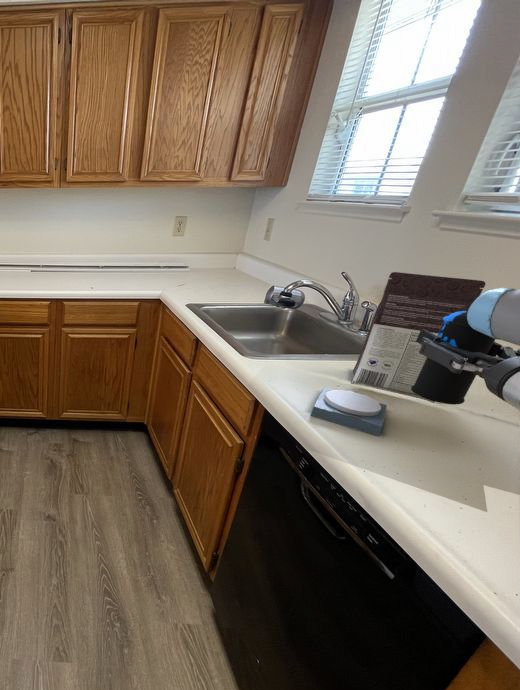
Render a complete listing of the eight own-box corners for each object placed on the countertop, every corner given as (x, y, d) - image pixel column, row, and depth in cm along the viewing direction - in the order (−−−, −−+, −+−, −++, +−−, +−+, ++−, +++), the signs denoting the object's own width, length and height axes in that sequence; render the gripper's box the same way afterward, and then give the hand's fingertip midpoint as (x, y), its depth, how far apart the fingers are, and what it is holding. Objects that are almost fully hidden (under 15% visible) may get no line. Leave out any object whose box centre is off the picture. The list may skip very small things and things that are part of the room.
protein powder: (430, 389, 104) (485, 277, 92) (435, 403, 98) (495, 285, 86) (349, 372, 113) (390, 268, 101) (349, 384, 106) (392, 274, 94)
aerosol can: (459, 392, 87) (507, 299, 78) (468, 409, 81) (522, 309, 72) (408, 382, 91) (449, 292, 82) (413, 397, 85) (458, 302, 76)
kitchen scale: (383, 414, 93) (389, 401, 92) (378, 436, 85) (384, 422, 84) (320, 396, 101) (324, 384, 99) (310, 415, 92) (315, 402, 91)
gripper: (440, 397, 70) (379, 348, 90) (604, 416, 65) (502, 360, 84) (460, 356, 67) (393, 315, 86) (636, 373, 61) (521, 325, 81)
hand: (446, 337), depth 85 cm, fingers closed on aerosol can, 8 cm apart
